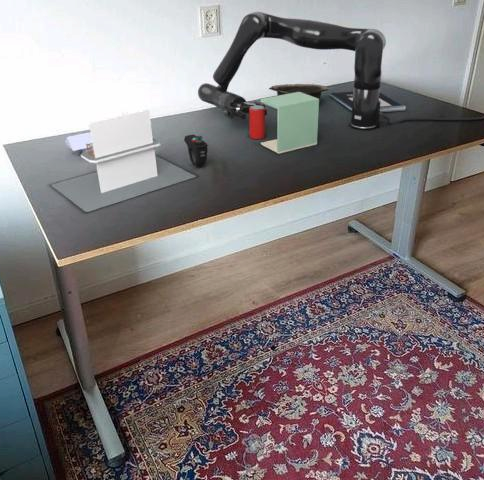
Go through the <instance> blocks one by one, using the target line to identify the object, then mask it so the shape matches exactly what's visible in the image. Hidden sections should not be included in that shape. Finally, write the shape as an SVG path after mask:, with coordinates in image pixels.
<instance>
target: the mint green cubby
mask: <svg viewBox="0 0 484 480" xmlns="http://www.w3.org/2000/svg"><path fill="white" fill-rule="evenodd" d="M259 103H261V104H264V105H265V106H269V107H271V108H273V109H276V111H277V118H276V119H277V120H276V121H277V126H276V127H277V128H276V129H277V130H276V131H277V132H276V133H277V134H276V135H277V136H276V137H277V138H276V139H272V140H266V141H264V142H260V145H261V146H262V147H265V148H267V149H269V150H271V151H272V152H274V153H276V154H277V155H279V154H283V153H287V152H292V151H295V150H299V149H303V148H308V147H312V146H316V145H318V131H319V108H320V102H319V99H318V98H315V97H313V96H310V95H307V94H304V93H302V92H294V93H288V94H283V95H278V96H277V95H272V96H268V97H261V98H259Z"/></svg>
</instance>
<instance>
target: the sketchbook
mask: <svg viewBox="0 0 484 480" xmlns="http://www.w3.org/2000/svg"><path fill="white" fill-rule="evenodd" d="M353 91H354V90H352V91H351V90H350V91H340V92H339V91H338V92H337V91H336V92H329V97H331V98H332V99H333V100H335V101H336V102H338V103H339V104H340V105H342V106H343V107H345V108H346V109H348V110H349V111H351V112H352V104H353ZM379 101H380V102H381V103H380V111H381V112H382V113H389V112H390V113H391V112H402V111H403V112H404V111H405V110H407V106H406V105H404V104H402V103H400V102H398V101H397V100H396V99H393V98H392V97H390V96H389V95H386V94H384V93H383V92H381V91H380V93H379Z"/></svg>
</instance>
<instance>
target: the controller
mask: <svg viewBox="0 0 484 480" xmlns="http://www.w3.org/2000/svg"><path fill="white" fill-rule="evenodd" d="M183 141H184V143H185V144H186V146H187V151H188V156H189V159H190V162H191V164H192V165H193V166H195V167H202V166H205V165H206V163H207V161H208V151H209V149H208V146H209V145H208V143H207V142H205V140H203V136H202V135H195V134H189V135H188V134H187V135H185V136H184V139H183Z"/></svg>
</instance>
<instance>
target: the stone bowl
mask: <svg viewBox="0 0 484 480" xmlns="http://www.w3.org/2000/svg"><path fill="white" fill-rule="evenodd" d="M268 90H270V91H273V92H276V96H278V95H283V94H288V93H294V92H302V93H304V94H307V95H310V96H313V97H315V98H318V99H319V103H320V102H321V98H322V97H321V95H322V92H326V91H330V90H331V87H328V86H326V85H321V84H314V83H312V84H309V83H293V84H291V83H289V84H288V83H287V84H276V85H272V86H270V87H269V88H268Z"/></svg>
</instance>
